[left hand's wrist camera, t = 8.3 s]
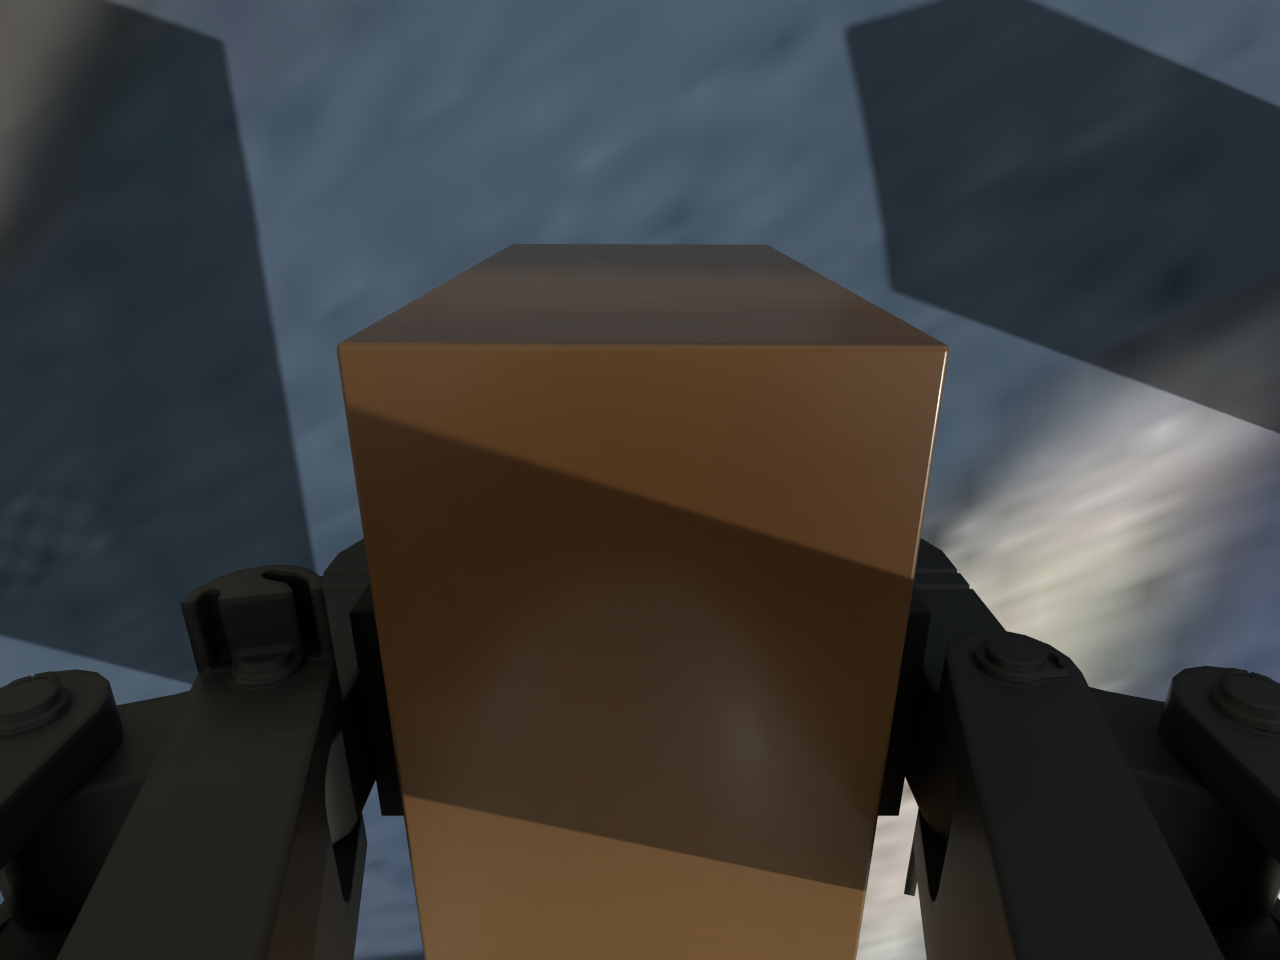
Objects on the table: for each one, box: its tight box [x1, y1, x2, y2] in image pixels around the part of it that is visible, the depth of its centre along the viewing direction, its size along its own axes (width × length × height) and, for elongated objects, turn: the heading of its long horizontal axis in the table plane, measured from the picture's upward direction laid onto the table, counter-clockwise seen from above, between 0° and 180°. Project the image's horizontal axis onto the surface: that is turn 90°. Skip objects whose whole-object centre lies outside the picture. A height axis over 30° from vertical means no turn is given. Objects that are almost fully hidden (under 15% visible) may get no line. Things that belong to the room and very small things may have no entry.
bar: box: [337, 244, 949, 960], centre depth 14 cm, size 23×4×8 cm, turn 0°
